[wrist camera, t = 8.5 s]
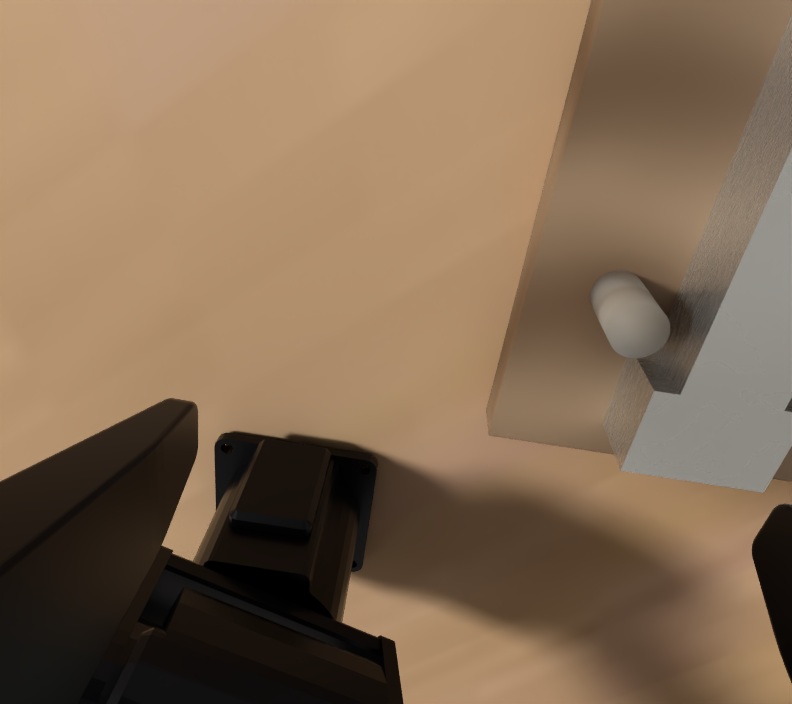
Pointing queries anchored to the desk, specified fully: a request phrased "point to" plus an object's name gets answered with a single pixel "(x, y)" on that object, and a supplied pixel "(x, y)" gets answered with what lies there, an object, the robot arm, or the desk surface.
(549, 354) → the peg board
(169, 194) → the desk surface
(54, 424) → the desk surface
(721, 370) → the grey i-beam piece
